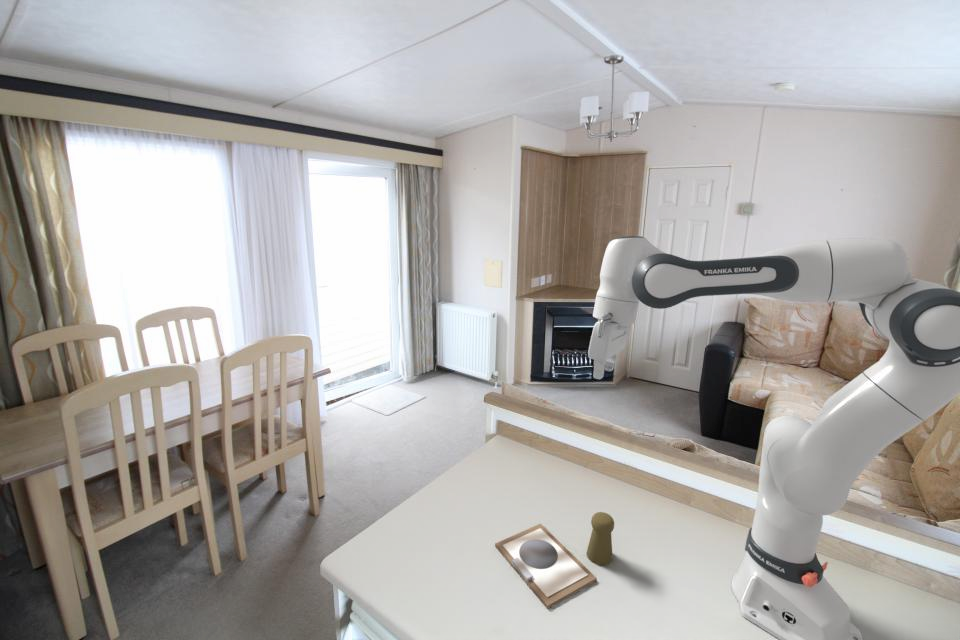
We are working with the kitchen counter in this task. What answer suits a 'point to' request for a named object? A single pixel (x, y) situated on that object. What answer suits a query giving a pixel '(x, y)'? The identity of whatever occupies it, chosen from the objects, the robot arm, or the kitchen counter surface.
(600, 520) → the cork
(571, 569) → the clipboard
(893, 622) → the kitchen counter surface
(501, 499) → the kitchen counter surface
